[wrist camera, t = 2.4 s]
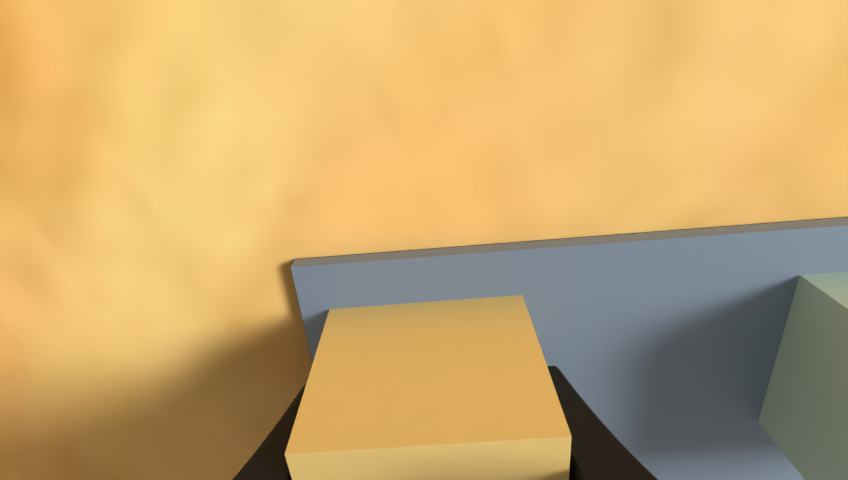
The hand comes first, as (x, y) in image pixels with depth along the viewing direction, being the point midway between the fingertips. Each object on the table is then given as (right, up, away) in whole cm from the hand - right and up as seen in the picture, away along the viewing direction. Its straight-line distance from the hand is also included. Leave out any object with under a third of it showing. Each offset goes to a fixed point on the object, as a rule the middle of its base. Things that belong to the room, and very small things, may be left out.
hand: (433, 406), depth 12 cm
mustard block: (0, 0, +1) cm, 1 cm away
